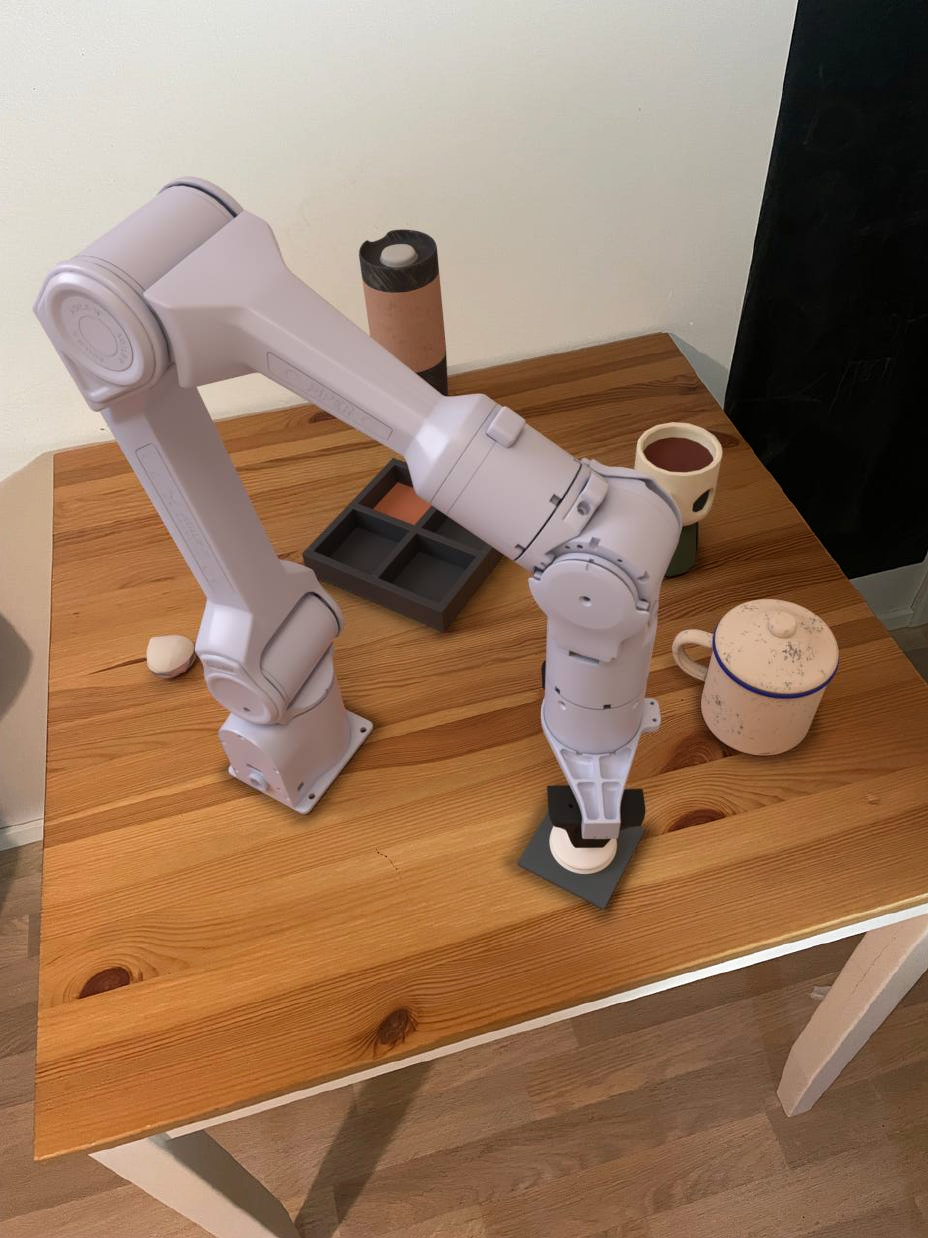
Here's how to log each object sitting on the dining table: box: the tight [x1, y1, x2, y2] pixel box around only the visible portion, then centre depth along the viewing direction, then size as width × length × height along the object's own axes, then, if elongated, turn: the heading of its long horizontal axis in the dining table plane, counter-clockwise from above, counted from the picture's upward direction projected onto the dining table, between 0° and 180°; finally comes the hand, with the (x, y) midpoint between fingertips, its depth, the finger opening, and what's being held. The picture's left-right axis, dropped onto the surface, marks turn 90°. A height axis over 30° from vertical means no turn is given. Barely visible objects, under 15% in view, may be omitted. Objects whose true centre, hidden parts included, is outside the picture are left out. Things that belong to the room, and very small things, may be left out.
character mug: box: [633, 421, 723, 577], centre depth 82 cm, size 11×7×13 cm, turn 158°
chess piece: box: [550, 826, 617, 874], centre depth 64 cm, size 5×5×10 cm
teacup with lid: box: [671, 598, 840, 756], centre depth 71 cm, size 12×9×12 cm
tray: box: [301, 457, 505, 633], centre depth 88 cm, size 15×15×3 cm
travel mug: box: [358, 228, 449, 397], centre depth 95 cm, size 8×8×20 cm
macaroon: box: [146, 634, 197, 679], centre depth 81 cm, size 4×5×2 cm
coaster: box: [516, 811, 646, 911], centre depth 68 cm, size 7×7×1 cm
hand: (584, 790), depth 62 cm, fingers open, 7 cm apart
